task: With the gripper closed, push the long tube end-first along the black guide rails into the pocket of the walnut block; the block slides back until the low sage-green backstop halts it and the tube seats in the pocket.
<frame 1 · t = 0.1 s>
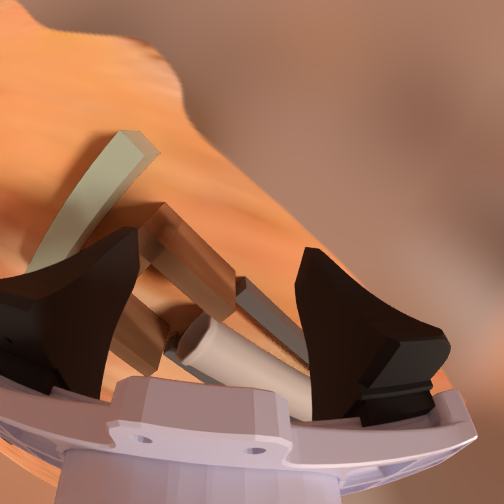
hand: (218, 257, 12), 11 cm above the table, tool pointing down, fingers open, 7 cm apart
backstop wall: (92, 209, 21), on the table
tube: (287, 375, 30), on the table
guide rails: (286, 377, 29), on the table
socket block: (152, 293, 21), point 3 cm above the table, slide at 0.0 cm
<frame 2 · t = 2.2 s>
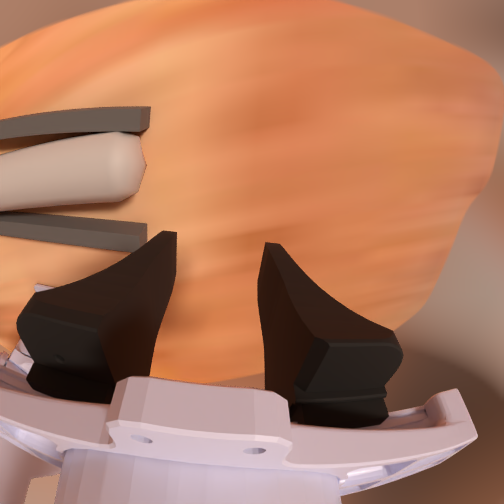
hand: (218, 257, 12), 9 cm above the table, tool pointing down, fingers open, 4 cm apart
tube: (28, 169, 18), on the table
guide rails: (24, 174, 18), on the table
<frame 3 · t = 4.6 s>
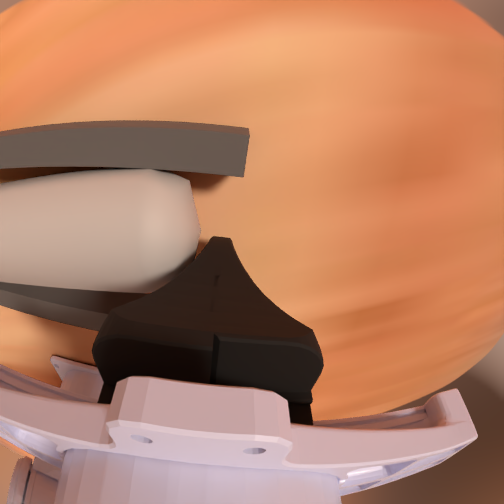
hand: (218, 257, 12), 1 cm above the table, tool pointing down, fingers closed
tube: (6, 211, 12), on the table, touching gripper
guide rails: (20, 221, 12), on the table
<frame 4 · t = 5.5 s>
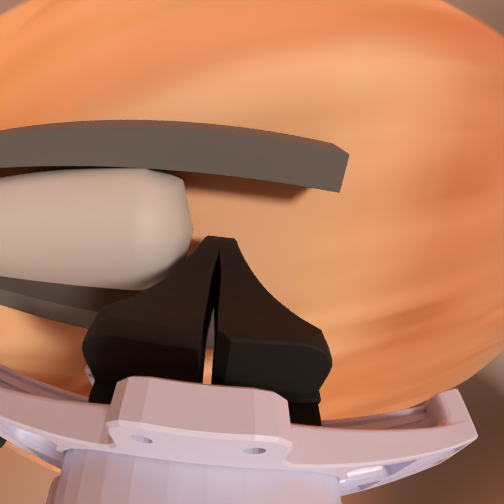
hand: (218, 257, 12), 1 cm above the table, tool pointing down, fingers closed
tube: (2, 206, 12), on the table, touching gripper
guide rails: (65, 224, 12), on the table
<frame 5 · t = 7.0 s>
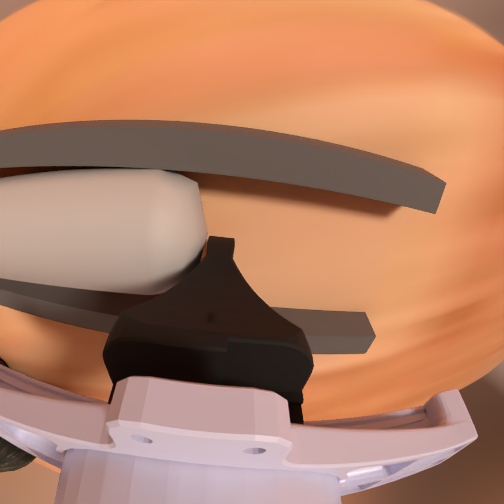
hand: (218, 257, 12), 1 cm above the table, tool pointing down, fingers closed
squash: (5, 372, 22), on the table
tube: (6, 206, 12), on the table, touching gripper, socket block
guide rails: (150, 233, 13), on the table
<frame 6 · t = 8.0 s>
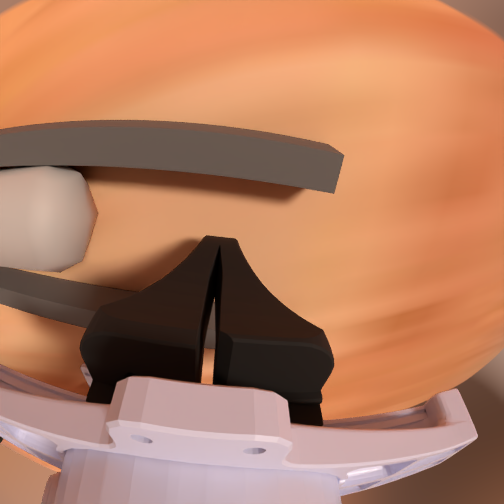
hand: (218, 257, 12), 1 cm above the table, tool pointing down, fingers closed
guide rails: (62, 223, 12), on the table
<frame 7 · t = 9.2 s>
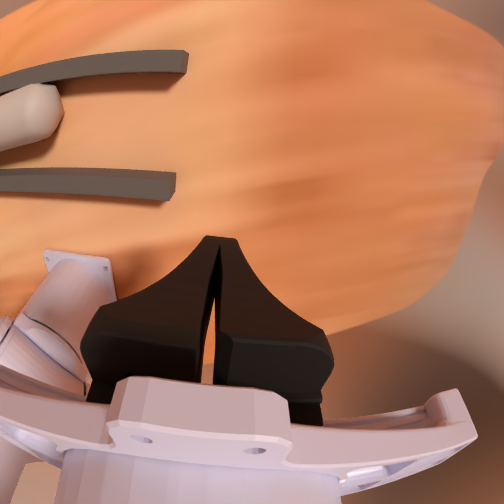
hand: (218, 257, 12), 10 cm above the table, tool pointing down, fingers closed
guide rails: (43, 125, 17), on the table
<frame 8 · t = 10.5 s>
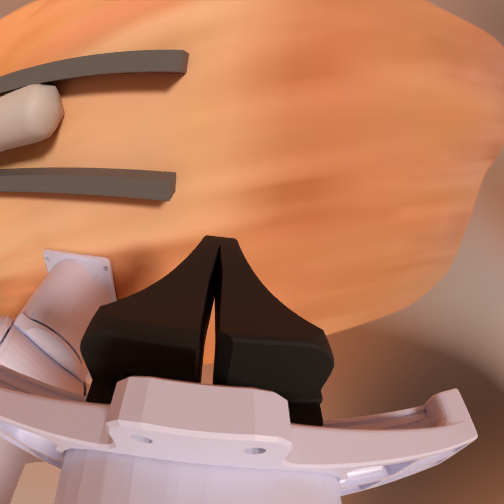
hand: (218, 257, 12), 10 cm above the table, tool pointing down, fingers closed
guide rails: (43, 125, 17), on the table
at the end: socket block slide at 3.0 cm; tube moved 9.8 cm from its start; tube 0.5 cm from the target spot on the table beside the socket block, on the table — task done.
